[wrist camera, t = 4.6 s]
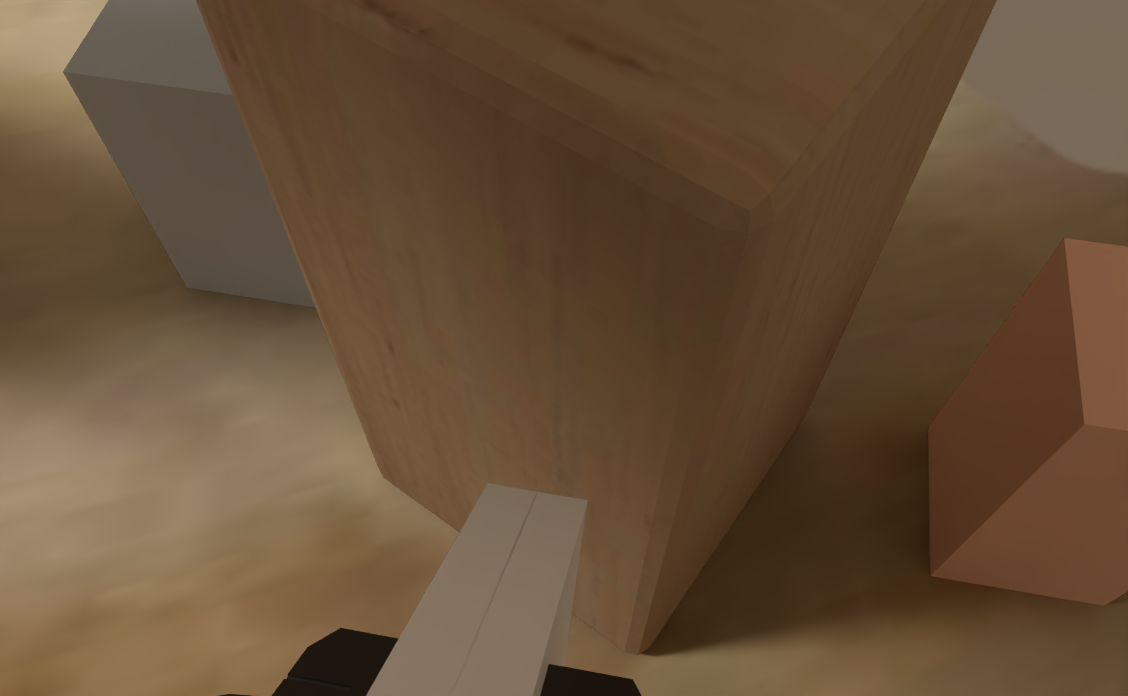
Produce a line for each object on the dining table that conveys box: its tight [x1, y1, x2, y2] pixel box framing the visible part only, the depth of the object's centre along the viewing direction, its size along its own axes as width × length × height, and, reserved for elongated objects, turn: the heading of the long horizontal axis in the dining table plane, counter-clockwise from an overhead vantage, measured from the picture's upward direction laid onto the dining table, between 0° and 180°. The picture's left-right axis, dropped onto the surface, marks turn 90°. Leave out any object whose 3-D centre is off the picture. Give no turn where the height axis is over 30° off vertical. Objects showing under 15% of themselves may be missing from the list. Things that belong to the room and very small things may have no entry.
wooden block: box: [196, 0, 996, 655], centre depth 23 cm, size 10×10×20 cm
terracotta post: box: [928, 238, 1128, 606], centre depth 26 cm, size 5×5×10 cm
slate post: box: [63, 0, 316, 308], centre depth 31 cm, size 5×5×10 cm
